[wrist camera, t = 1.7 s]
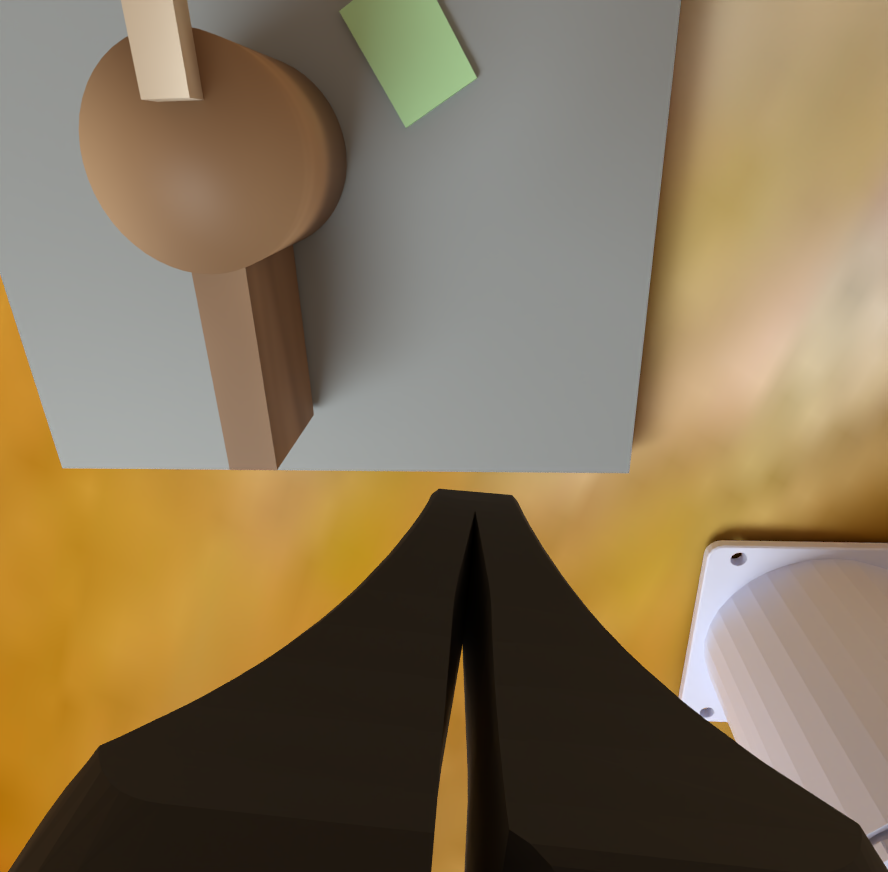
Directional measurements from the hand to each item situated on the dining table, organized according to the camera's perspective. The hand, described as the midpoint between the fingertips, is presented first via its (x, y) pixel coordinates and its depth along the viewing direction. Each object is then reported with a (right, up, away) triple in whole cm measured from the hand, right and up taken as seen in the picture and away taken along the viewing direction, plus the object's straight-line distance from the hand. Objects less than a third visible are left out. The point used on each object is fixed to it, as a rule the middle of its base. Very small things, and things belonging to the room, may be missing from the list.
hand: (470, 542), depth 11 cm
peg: (-5, +8, +6) cm, 11 cm away
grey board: (-4, +9, +7) cm, 12 cm away
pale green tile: (-1, +11, +4) cm, 12 cm away
